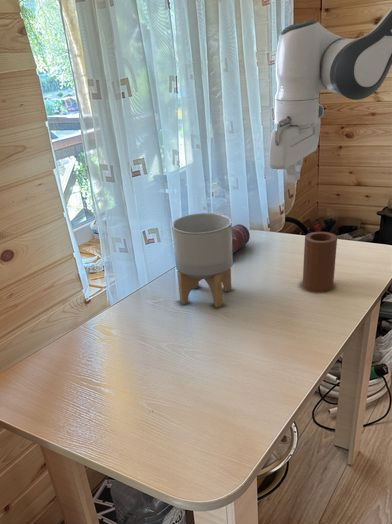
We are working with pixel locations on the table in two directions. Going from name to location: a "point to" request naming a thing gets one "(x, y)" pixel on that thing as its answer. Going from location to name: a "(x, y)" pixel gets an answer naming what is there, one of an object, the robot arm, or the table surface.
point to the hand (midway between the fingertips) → (293, 180)
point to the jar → (319, 261)
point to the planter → (203, 253)
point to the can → (239, 237)
